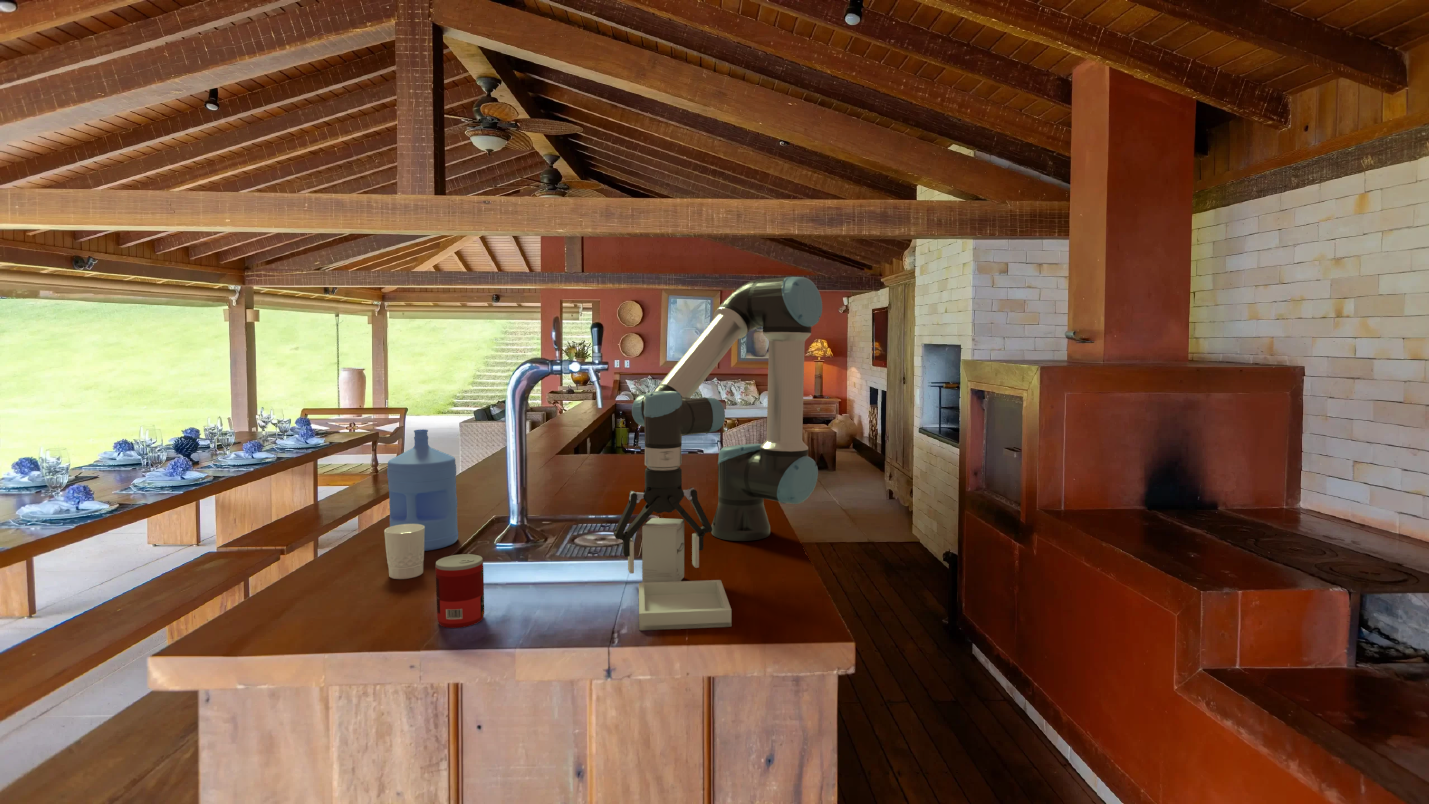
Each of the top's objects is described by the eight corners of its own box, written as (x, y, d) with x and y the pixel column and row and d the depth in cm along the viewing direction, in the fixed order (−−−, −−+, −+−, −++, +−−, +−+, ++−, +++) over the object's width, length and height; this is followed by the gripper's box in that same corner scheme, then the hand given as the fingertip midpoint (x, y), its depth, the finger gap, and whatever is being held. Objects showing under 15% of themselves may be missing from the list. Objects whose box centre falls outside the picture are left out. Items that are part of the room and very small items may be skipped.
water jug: (407, 534, 187) (404, 426, 185) (468, 535, 187) (465, 426, 184) (377, 552, 172) (372, 434, 169) (443, 553, 171) (439, 434, 169)
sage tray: (638, 597, 142) (638, 582, 141) (720, 594, 143) (720, 579, 143) (639, 630, 126) (639, 613, 125) (731, 626, 127) (731, 609, 127)
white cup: (390, 582, 150) (389, 535, 149) (382, 573, 156) (380, 527, 156) (430, 575, 155) (429, 529, 154) (420, 566, 161) (419, 521, 160)
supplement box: (676, 589, 147) (676, 527, 146) (641, 586, 148) (640, 525, 147) (685, 577, 154) (685, 518, 153) (651, 575, 155) (651, 516, 154)
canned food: (492, 620, 130) (490, 560, 129) (448, 632, 125) (446, 569, 124) (472, 608, 136) (470, 551, 135) (430, 620, 130) (428, 560, 129)
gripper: (604, 473, 142) (605, 579, 144) (727, 467, 149) (726, 568, 151) (599, 466, 149) (600, 568, 151) (716, 461, 156) (716, 558, 158)
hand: (663, 568), depth 151 cm, fingers open, 13 cm apart
